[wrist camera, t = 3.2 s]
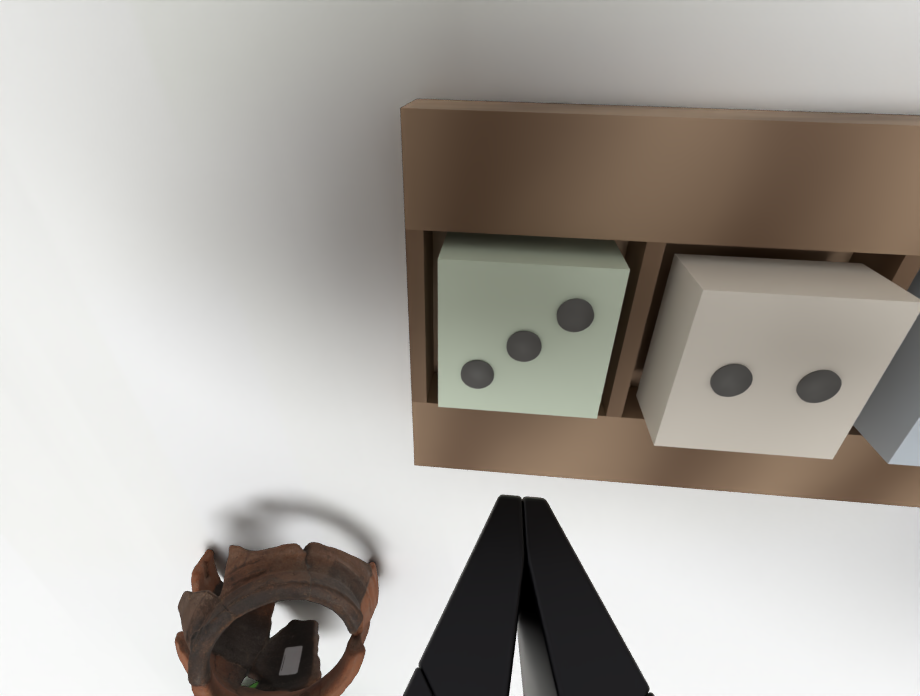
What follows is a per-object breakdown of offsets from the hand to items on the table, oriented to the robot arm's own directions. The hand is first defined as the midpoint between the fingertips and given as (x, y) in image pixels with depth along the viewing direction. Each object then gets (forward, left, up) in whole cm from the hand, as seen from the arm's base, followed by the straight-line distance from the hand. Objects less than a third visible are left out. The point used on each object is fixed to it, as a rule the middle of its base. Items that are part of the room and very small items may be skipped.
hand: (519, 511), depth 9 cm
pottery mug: (+10, +18, -10) cm, 23 cm away
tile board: (-7, 0, -9) cm, 11 cm away
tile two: (-7, 0, -7) cm, 10 cm away
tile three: (0, 0, -8) cm, 8 cm away
